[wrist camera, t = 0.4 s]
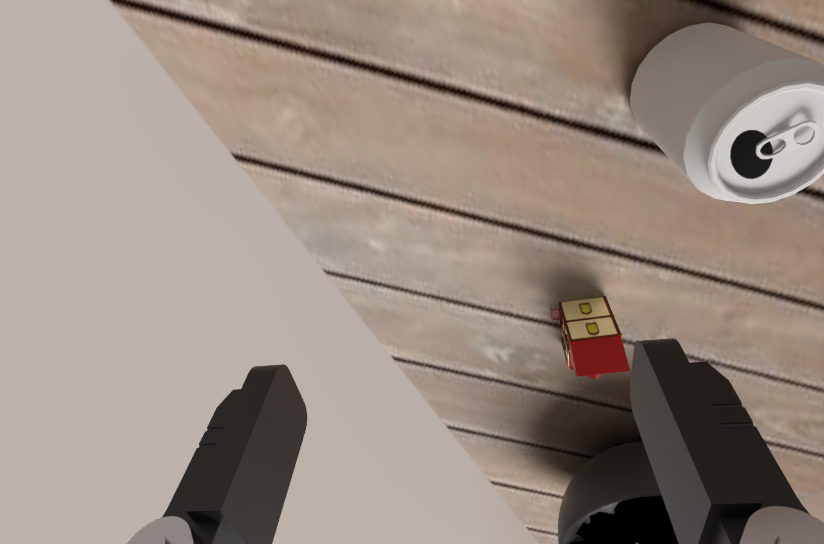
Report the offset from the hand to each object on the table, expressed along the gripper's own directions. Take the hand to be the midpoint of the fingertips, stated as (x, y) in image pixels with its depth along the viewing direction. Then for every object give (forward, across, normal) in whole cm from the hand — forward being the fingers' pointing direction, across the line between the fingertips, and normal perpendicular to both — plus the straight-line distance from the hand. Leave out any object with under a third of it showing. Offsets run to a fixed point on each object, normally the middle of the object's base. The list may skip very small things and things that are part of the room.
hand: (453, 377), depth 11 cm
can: (+28, -15, +3) cm, 32 cm away
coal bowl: (+28, -15, +47) cm, 57 cm away
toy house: (+29, -11, +25) cm, 40 cm away
